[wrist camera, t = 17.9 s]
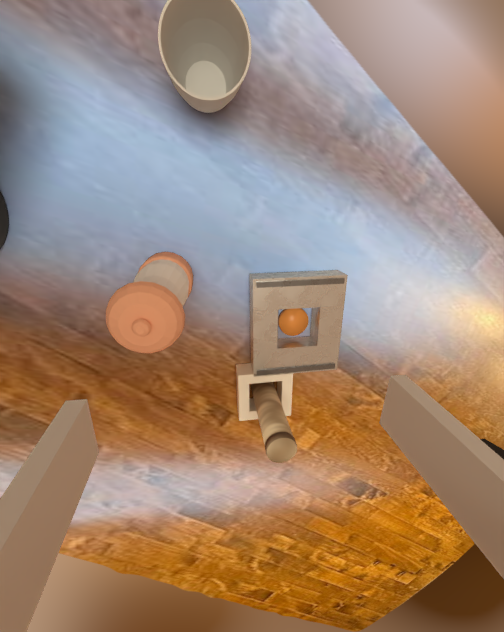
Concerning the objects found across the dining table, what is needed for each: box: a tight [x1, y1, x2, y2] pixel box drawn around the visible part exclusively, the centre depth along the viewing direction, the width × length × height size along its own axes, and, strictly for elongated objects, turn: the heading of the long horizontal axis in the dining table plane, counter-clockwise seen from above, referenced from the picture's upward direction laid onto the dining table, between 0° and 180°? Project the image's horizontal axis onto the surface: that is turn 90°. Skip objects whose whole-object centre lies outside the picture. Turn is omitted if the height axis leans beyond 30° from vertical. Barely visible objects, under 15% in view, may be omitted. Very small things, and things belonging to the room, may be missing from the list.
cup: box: [158, 0, 251, 113], centre depth 30 cm, size 8×8×10 cm
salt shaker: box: [106, 252, 193, 353], centre depth 33 cm, size 7×7×19 cm
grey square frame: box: [249, 270, 347, 377], centre depth 46 cm, size 14×16×4 cm
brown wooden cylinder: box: [251, 382, 297, 463], centre depth 45 cm, size 4×4×15 cm
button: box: [278, 308, 308, 336], centre depth 47 cm, size 5×5×1 cm
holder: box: [236, 363, 293, 421], centre depth 50 cm, size 9×9×4 cm
